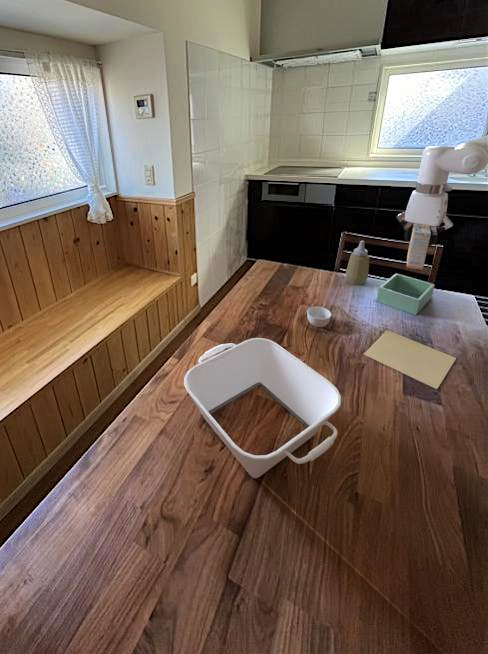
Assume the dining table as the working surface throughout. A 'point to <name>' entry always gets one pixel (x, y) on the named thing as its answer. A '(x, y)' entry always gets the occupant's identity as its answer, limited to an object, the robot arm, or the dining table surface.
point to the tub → (278, 380)
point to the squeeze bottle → (358, 266)
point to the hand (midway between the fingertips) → (418, 242)
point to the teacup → (318, 316)
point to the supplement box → (418, 246)
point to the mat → (411, 358)
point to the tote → (403, 300)
